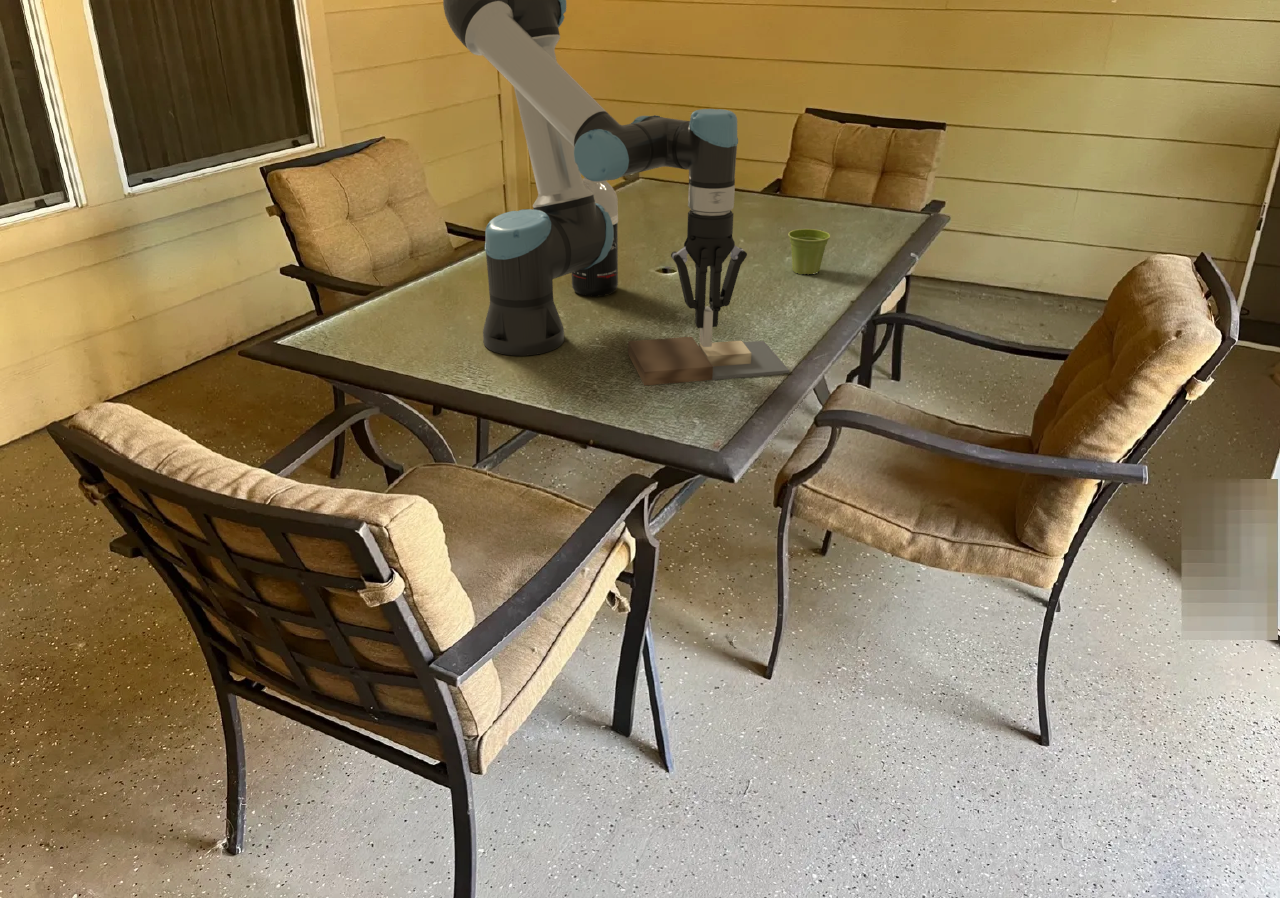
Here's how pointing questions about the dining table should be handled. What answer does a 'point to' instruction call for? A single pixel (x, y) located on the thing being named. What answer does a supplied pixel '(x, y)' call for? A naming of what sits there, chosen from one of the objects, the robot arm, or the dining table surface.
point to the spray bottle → (605, 273)
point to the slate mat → (753, 364)
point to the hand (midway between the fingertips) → (705, 343)
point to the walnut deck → (669, 361)
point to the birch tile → (727, 353)
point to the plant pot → (807, 249)
